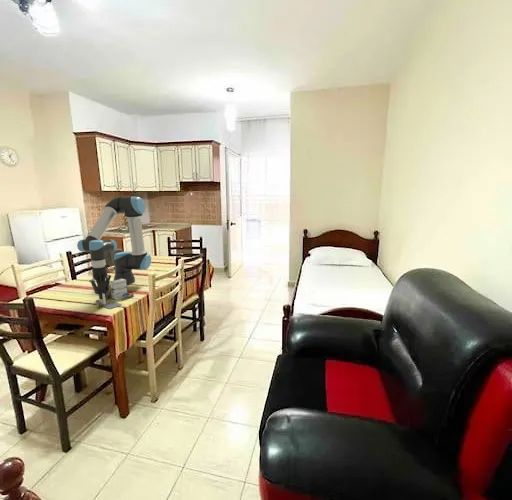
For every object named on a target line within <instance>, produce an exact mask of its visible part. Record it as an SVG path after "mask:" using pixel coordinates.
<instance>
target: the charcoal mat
mask: <svg viewBox="0 0 512 500" xmlns="http://www.w3.org/2000/svg"><path fill="white" fill-rule="evenodd" d="M122 305H123V304H122V303H119V302H116V301H110V302H108V303H107V302H106V304H102V305H101V306H100V307H102V308H106V309H109V310H111V309H114V308H117V307H120V306H122Z"/></svg>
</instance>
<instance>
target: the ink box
mask: <svg viewBox="0 0 512 500" xmlns="http://www.w3.org/2000/svg"><path fill="white" fill-rule="evenodd" d="M113 280H114V279H113ZM113 280H110V284H109V285H110V289H111V295H112V297H111V299H112V300H115V301H118V300H119V299H121V298H122V297H125V296H127V292H128V290H127V289H128V288H127V287H128V286H127V285H128V284H127V285H126V280H125V279H118V280H114V281H113Z"/></svg>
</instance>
